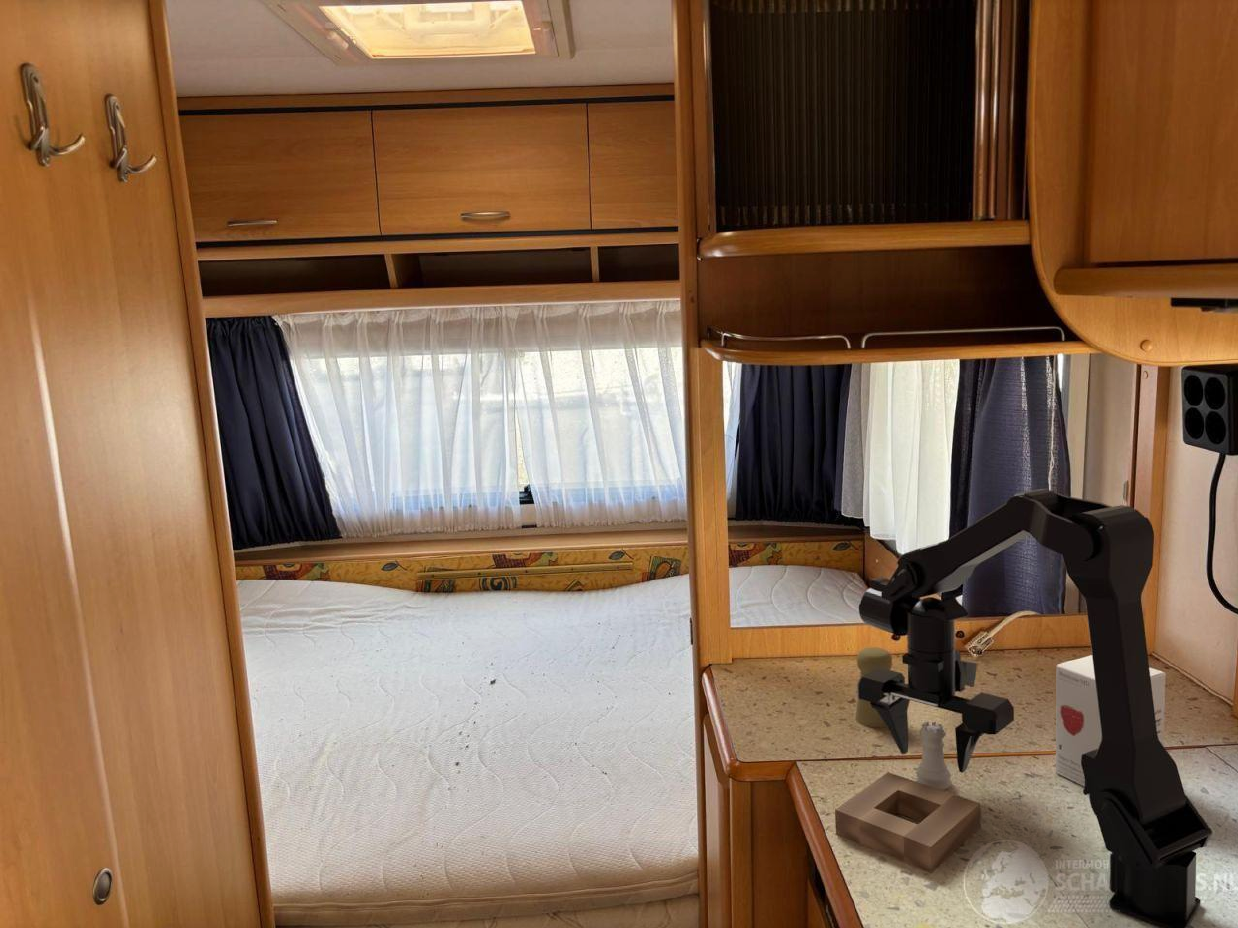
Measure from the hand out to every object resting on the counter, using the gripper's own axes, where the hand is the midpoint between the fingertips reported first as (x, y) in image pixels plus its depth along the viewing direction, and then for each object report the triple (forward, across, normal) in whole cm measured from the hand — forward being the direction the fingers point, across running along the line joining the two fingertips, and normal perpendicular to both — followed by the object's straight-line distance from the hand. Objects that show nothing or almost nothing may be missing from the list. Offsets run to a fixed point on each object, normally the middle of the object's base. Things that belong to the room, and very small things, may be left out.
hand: (933, 761), depth 114 cm
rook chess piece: (+3, 0, 0) cm, 3 cm away
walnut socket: (+3, -3, +12) cm, 13 cm away
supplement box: (+3, -16, -15) cm, 22 cm away
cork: (+3, +16, -13) cm, 21 cm away
